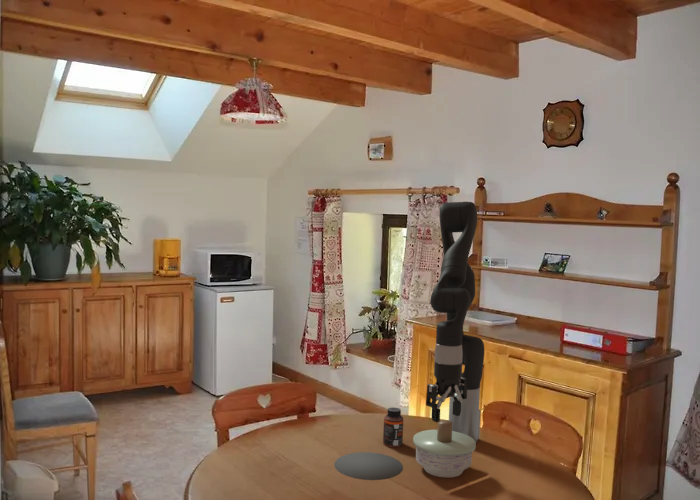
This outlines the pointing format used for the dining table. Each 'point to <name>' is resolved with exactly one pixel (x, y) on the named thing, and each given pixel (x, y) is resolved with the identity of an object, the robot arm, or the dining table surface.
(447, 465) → the paper bowls
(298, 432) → the dining table surface
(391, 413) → the supplement bottle
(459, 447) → the lid
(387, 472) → the mat
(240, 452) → the dining table surface
